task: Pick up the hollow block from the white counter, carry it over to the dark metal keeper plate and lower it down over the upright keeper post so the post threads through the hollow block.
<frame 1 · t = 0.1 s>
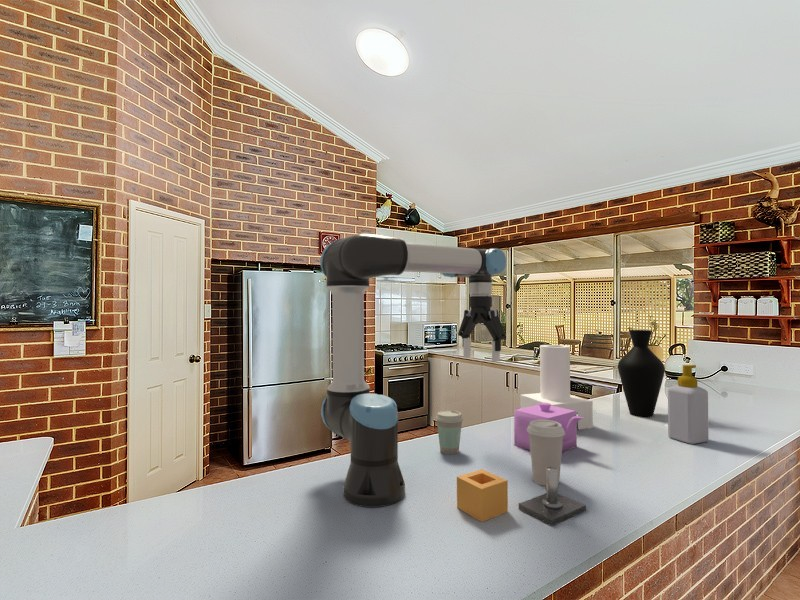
hand: (480, 359, 145), 28 cm above the counter, fingers open, 13 cm apart
vase: (641, 415, 180), on the counter
coffee cup 2: (546, 481, 114), on the counter
soap bottle: (688, 440, 147), on the counter
coffee cup: (449, 451, 137), on the counter
hollow block: (482, 509, 98), on the counter
keeper: (552, 509, 98), on the counter
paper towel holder: (555, 424, 168), on the counter
teapot: (548, 447, 141), on the counter
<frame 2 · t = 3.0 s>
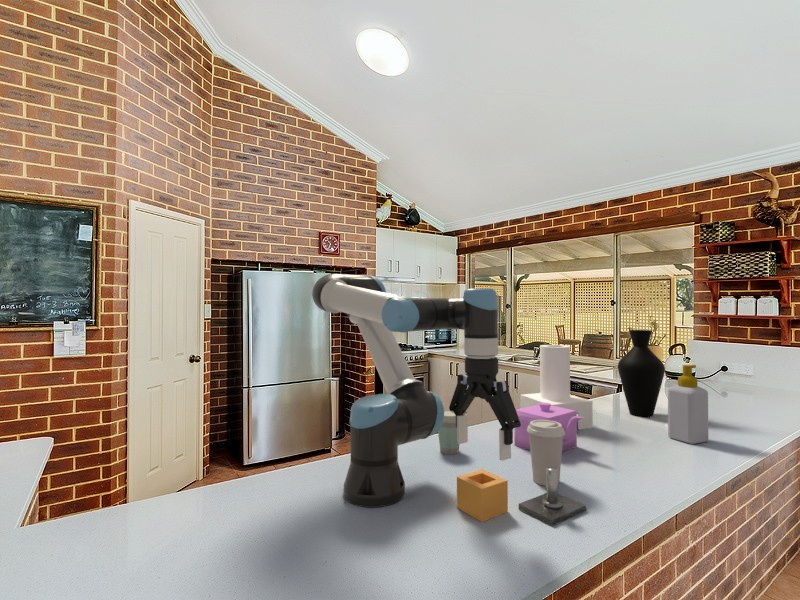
hand: (482, 450, 98), 13 cm above the counter, fingers open, 13 cm apart
nothing on the counter moved.
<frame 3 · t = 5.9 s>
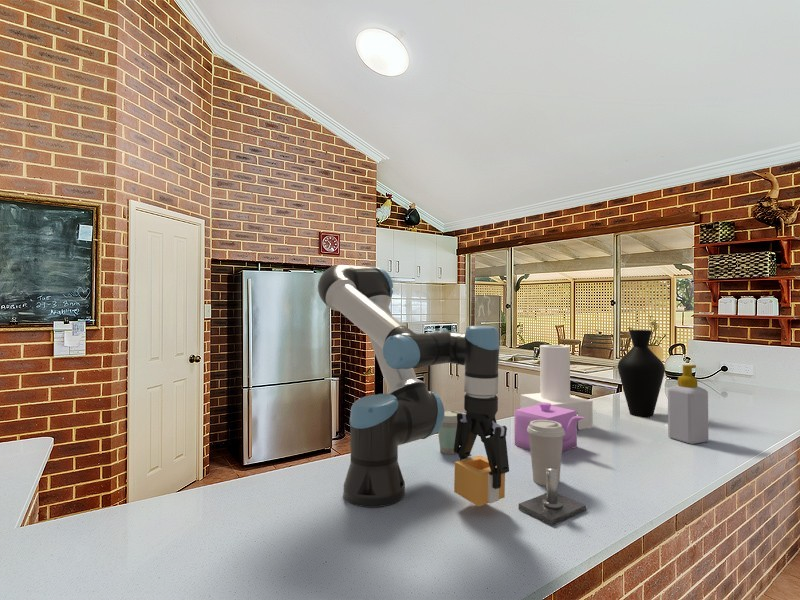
hand: (479, 493, 99), 3 cm above the counter, fingers closed on hollow block, 8 cm apart
hollow block: (479, 494, 99), point 3 cm above the counter, touching gripper
everything else where it was.
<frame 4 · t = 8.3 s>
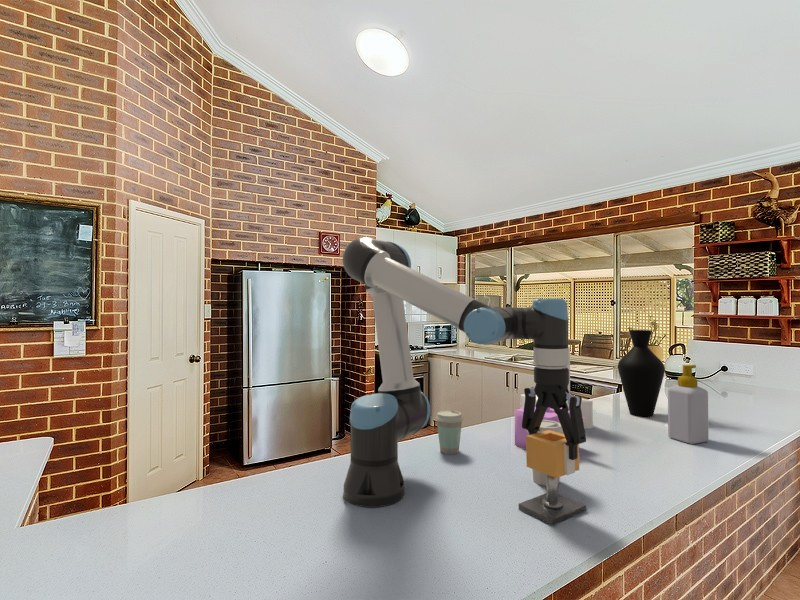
hand: (552, 467, 98), 10 cm above the counter, fingers closed on hollow block, 8 cm apart
hollow block: (552, 468, 98), point 9 cm above the counter, touching gripper
everything else where it was.
when the fingers open (3 cm above the counter, at t = 10.7 s): hollow block drops 1 cm, resting on keeper.
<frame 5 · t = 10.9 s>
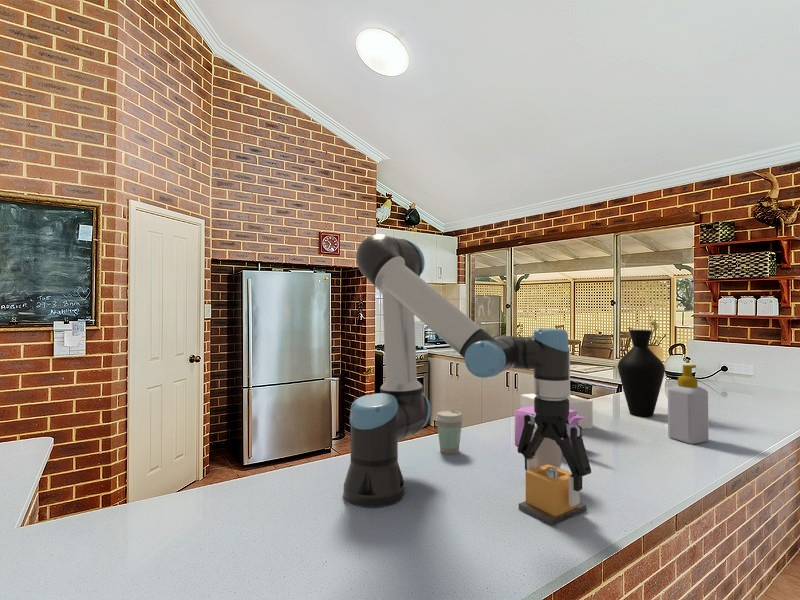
hand: (552, 494, 98), 3 cm above the counter, fingers open, 10 cm apart
hollow block: (551, 504, 98), point 1 cm above the counter, touching keeper
everything else where it was.
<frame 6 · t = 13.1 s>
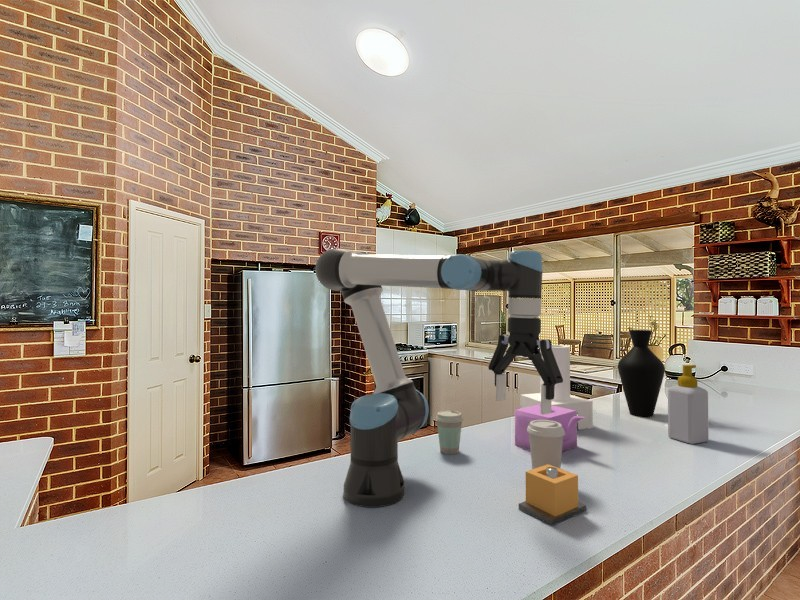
hand: (522, 406, 102), 22 cm above the counter, fingers open, 13 cm apart
nothing on the counter moved.
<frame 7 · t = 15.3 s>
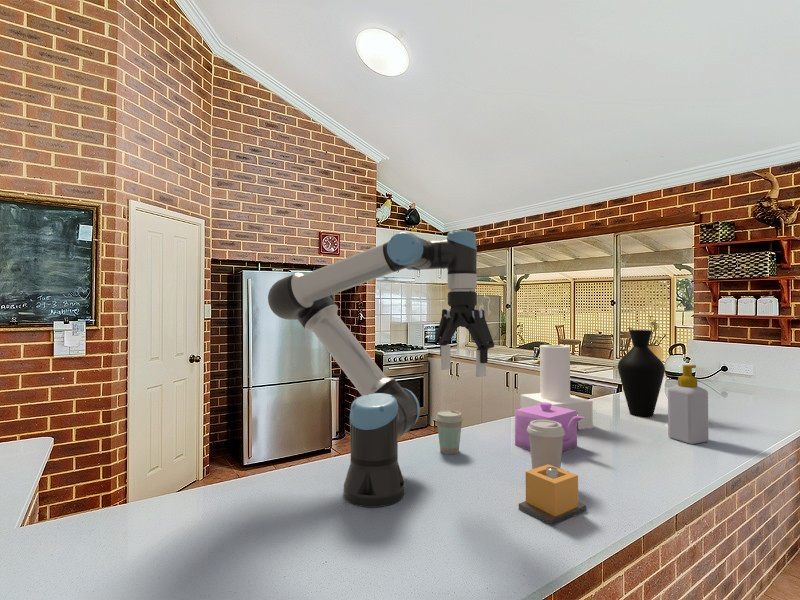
hand: (462, 372, 113), 29 cm above the counter, fingers open, 13 cm apart
nothing on the counter moved.
at the end: hollow block 0.1 cm off-centre on the keeper, point 1.2 cm above the keeper's base; the gripper is holding nothing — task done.
